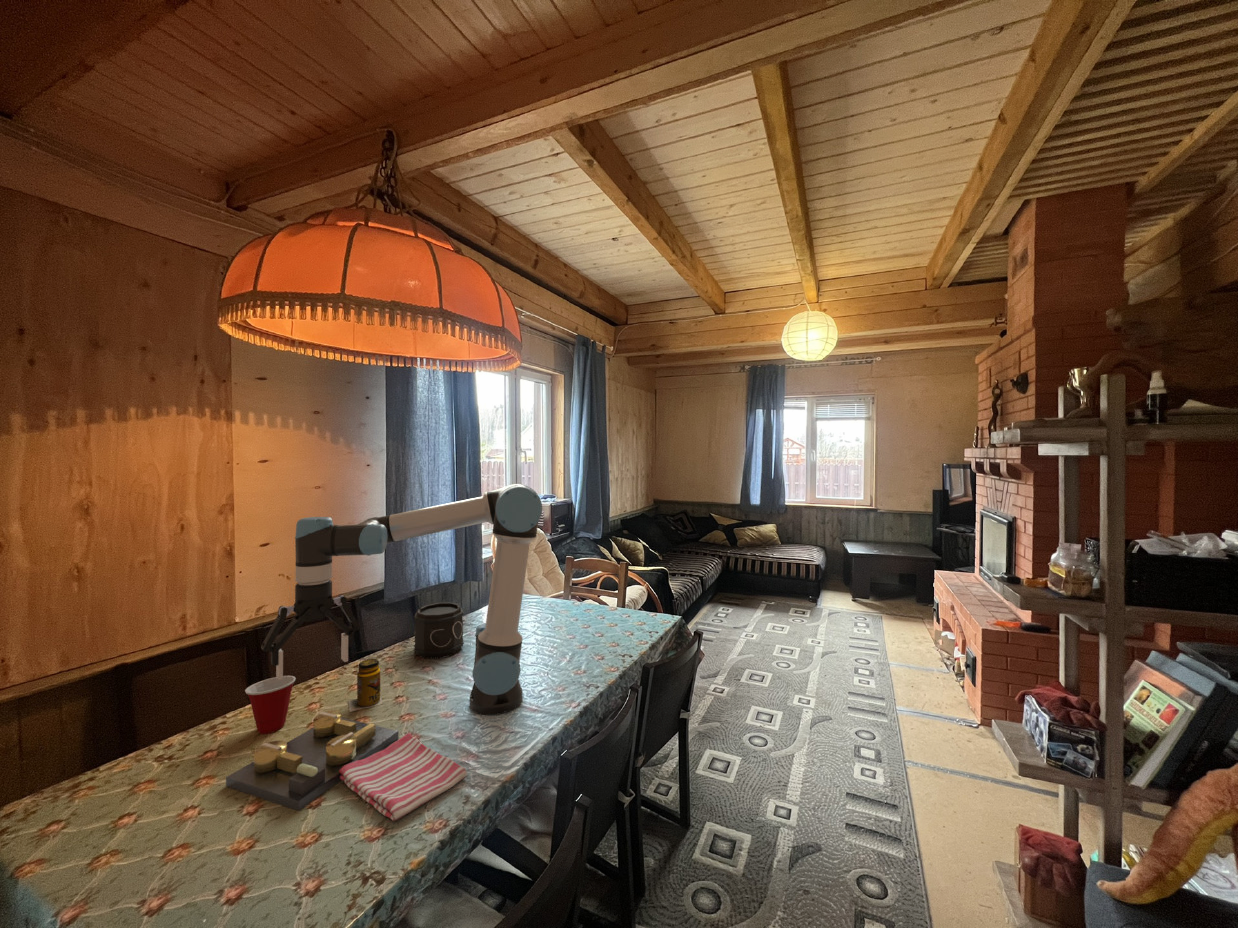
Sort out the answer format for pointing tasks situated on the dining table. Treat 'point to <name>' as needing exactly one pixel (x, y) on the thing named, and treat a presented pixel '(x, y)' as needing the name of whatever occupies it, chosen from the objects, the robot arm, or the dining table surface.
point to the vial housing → (306, 778)
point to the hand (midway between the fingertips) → (313, 668)
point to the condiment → (367, 686)
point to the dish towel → (401, 777)
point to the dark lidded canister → (438, 630)
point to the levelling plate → (312, 752)
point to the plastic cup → (270, 702)
